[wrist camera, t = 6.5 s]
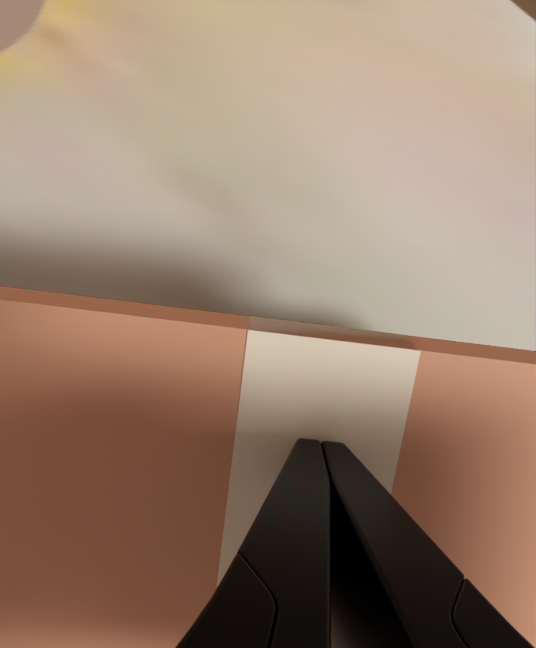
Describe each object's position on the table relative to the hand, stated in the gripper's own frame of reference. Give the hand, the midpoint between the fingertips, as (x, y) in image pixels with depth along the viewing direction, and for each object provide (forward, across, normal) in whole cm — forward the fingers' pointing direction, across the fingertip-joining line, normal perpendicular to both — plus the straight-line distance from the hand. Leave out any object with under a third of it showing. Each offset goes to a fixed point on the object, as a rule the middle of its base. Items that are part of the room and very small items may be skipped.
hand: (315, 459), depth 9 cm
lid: (+1, 0, +2) cm, 2 cm away
